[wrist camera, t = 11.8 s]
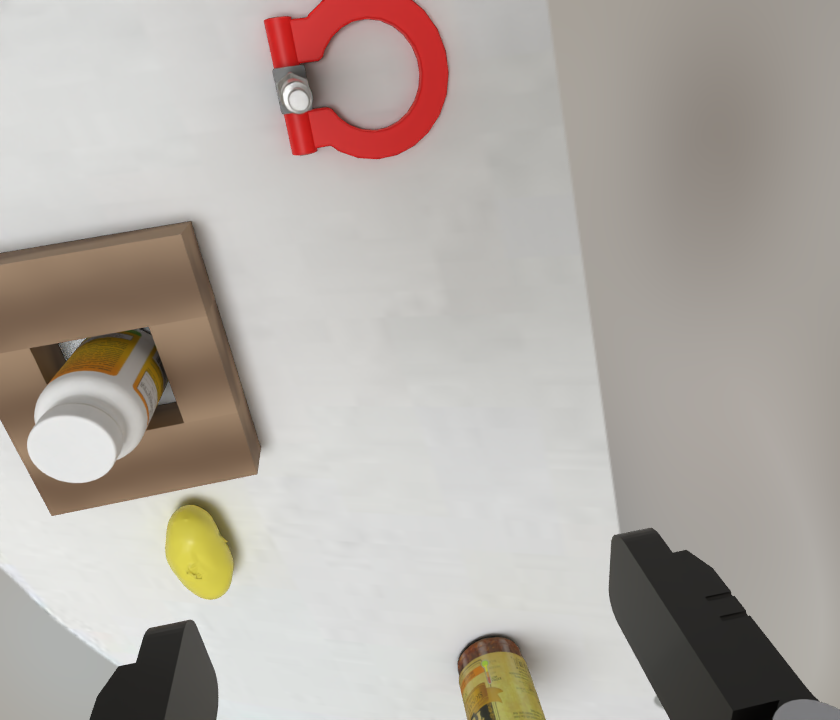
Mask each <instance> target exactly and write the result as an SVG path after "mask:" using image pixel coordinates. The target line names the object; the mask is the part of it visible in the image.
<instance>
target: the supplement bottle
mask: <svg viewBox="0 0 840 720" xmlns="http://www.w3.org/2000/svg"><path fill="white" fill-rule="evenodd" d="M167 382H168V377H167V375H166V372H165V369H164V367H163V364H162V361H161V358H160V356H159V353H158V350H157V348H156V345H155V342H154V340H153V337H152V336H151V335H149V334H148V333H146V332H144V331H142V330H139V329H133V330H127V331H122V332H116V333H111V334H105V335H100V336H94V337H89V338H86V339H85V340H84V341H83V342H82V343H81V344H80V345H79V347H78V348H77V349H76V351H75V352H74V353H73V354H72V355H71V357H70V358H69V359H68V360H67V361H66V363H65V364H64V365H63V366H62V367H61V369H60V370H59V371H58V372H57V373H56V375H55V376H54V377H53V378H52V379H51V381H50V382H49V383H48V385H47V386H46V387H45V388H44V390H43V391H42V393H41V394H40V396H39V398H38V400H37V403H36V406H35V412H34V419H35V426H34V427H33V429H32V430H31V432H30V434H29V436H28V440H27V450H28V453H29V456H30V458H31V460H32V462H33V463H34V464H35V465H36V466H37V468H38V469H40V470H41V471H42V472H43V473H45V474H46V475H48V476H50V477H52V478H54V479H57V480H59V481H64V482H69V483H85V482H90V481H93V480H96V479H98V478H100V477H102V476H104V475H105V474H106V473H108V472H109V470H110V469H111V468H112V467H113V465H114V463H115V462H116V460H118V459H120V458H122V457H124V456H126V455H127V454H129V453H130V452H131V451H132V450H134V448H135V447H136V446H137V445H138V444H139V442H140V441H141V439H142V437H143V435H144V433H145V431H146V429H147V427H148V424H149V422H150V420H151V418H152V416H153V413H154V411H155V409H156V407H157V405H158V402H159V400H160V398H161V396H162V394H163V391H164V389H165V387H166V385H167Z"/></svg>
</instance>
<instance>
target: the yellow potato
mask: <svg viewBox="0 0 840 720" xmlns="http://www.w3.org/2000/svg"><path fill="white" fill-rule="evenodd" d="M226 542H228V541H226V540H225V539H224V538H223V537H222V535H221V534H220V532H219V530H218V528H217V526H216V524H215V522H214V520H213V519H212V517H211V515H210V514H209V513H208V512H207V511H206V510H204V509H202V508H200V507H198V506H195V505H185V506H182V507H180V508H179V509H178V510H176V511H175V512H174V514H173V515H172V516H171V518H170V520H169V522H168V526H167V533H166V545H165V552H166V558H167V561H168V564H169V565H170V567H171V569H172V571H173V572H174V573H175V574H176V576H177V577H178V578H179V580H180V581H181V582H182V583H183V585H184V586H185V587H186V588H187V589H189V590H190V591H191V592H193V593H194V594H195V595H197V596H199V597H201V598H203V599H208V600H212V599H217V598H219V597H221V596H222V595H224V594H225V593H226V592H227V590H228V589H229V587H230V584H231V581H232V575H233V568H234V563H233V557H232V554H231V552H230V549H229V548H228V546H227V544H226Z"/></svg>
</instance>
